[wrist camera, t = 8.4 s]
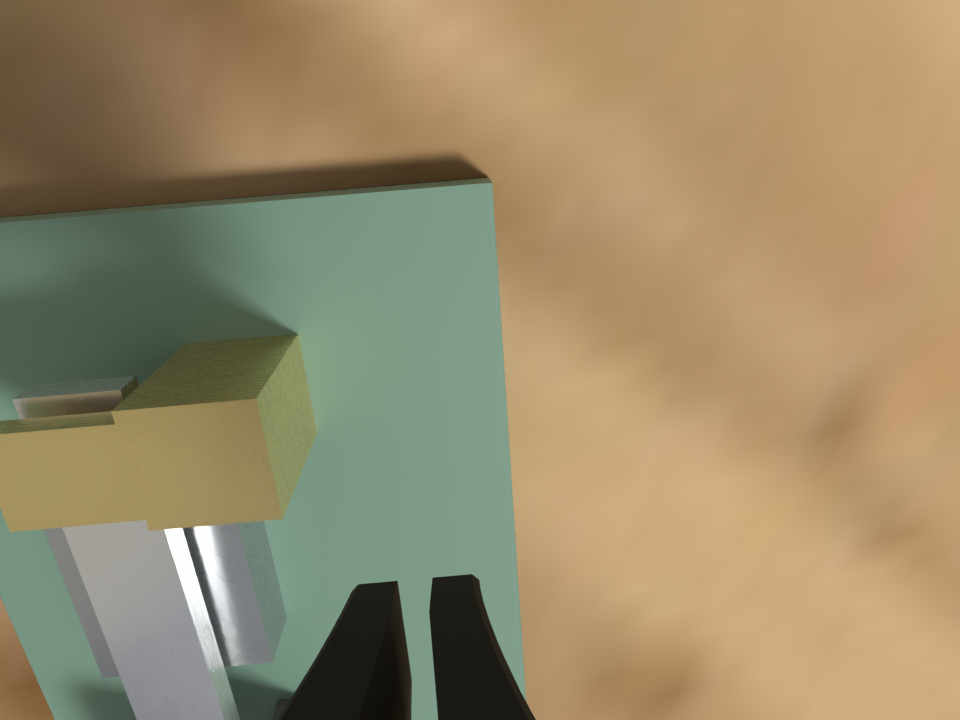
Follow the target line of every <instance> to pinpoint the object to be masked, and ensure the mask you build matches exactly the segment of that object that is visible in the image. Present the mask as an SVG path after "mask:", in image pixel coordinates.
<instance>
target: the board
mask: <svg viewBox="0 0 960 720" xmlns="http://www.w3.org/2000/svg"><path fill="white" fill-rule="evenodd" d="M291 334H298V335H299V341H300V346H301V351H302V356H303V362H304V367H305V372H306V377H307V383H308V388H309V393H310V398H311V404H312V409H313V414H314V420H315V425H316V430H317V434H316V437H315V439H314V442H313V444H312V447H311V449H310V452H309V455H308V457H307V460H306V462H305V465H304V467H303V470H302V472H301V475H300V477H299V480H298V482H297V485H296V487H295V490H294V492H293V495H292V497H291V500H290V502H289V505H288V507H287V510H286V512H285V515H284V517H283V519H278V520H267V521H264V523H265V527H266V532H267V536H268V540H269V544H270V548H271V553H272V557H273V561H274V565H275V569H276V574H277V578H278V582H279V586H280V591H281V595H282V599H283V603H284V607H285V612H286V616H287V619H286V622H285V625H284V628H283V631H282V634H281V638H280V641H279V644H278V647H277V650H276V654H275V657H274V660H273V662H271V663H260V664H249V665H239V666H228V667H224V668H225V671H226V675H227V678H228V681H229V685H230V688H231V691H232V694H233V698H234V701H235V704H236V708H237V711H238V714H239V718H240V720H277V719H278V718H279V716H280V715H281V713H282V712H283V710H284V709H285V707H286V706H287V704H288V702H289V701H290V699H291V698H292V696H293V694H294V693H295V691H296V690H297V688H298V686H299V685H300V683H301V681H302V680H303V678H304V677H305V675H306V673H307V672H308V670H309V668H310V667H311V665H312V664H313V662H314V660H315V659H316V657H317V655H318V653H319V652H320V650H321V648H322V646H323V645H324V643H325V641H326V639H327V638H328V636H329V634H330V632H331V631H332V629H333V627H334V625H335V623H336V621H337V619H338V618H339V616H340V614H341V612H342V610H343V608H344V606H345V604H346V602H347V600H348V598H349V596H350V594H351V592H352V590H353V589H354V588H355V587H356V586H357V585H358V584H367V583H378V582H389V581H398V587H399V594H400V601H401V608H402V615H403V622H404V629H405V635H406V642H407V649H408V656H409V663H410V670H411V677H412V710H411V720H438V711H437V699H436V688H435V676H434V664H433V652H432V640H431V628H430V615H429V609H430V597H431V587H432V578H434V577H445V576H456V575H467V574H473V575H474V576H475V577H476V578H478V579H479V580H480V588H481V593H482V597H483V601H484V605H485V608H486V611H487V614H488V617H489V620H490V623H491V626H492V628H493V631H494V633H495V636H496V639H497V641H498V644H499V646H500V648H501V651H502V653H503V655H504V657H505V660H506V662H507V664H508V666H509V668H510V670H511V672H512V674H513V676H514V679H515V681H516V683H517V685H518V687H519V689H520V691H521V693H522V695H523V697H524V699H525V701H526V695H525V680H524V665H523V649H522V634H521V619H520V603H519V588H518V573H517V557H516V542H515V527H514V511H513V496H512V481H511V465H510V450H509V435H508V419H507V404H506V389H505V373H504V358H503V343H502V327H501V312H500V296H499V281H498V266H497V250H496V235H495V220H494V204H493V189H492V182H491V180H490V178H479V179H466V180H454V181H442V182H430V183H417V184H405V185H393V186H381V187H369V188H356V189H344V190H332V191H320V192H307V193H295V194H283V195H271V196H258V197H246V198H234V199H222V200H210V201H197V202H185V203H173V204H161V205H148V206H136V207H124V208H112V209H100V210H87V211H75V212H63V213H51V214H38V215H26V216H14V217H2V218H0V421H5V420H16V419H20V418H19V415H18V412H17V410H16V407H15V405H14V402H13V400H12V399H14V398H15V397H16V396H18V395H19V394H21V393H22V392H24V391H25V390H26V389H28V388H29V387H31V386H32V385H34V384H46V383H58V382H69V381H81V380H92V379H104V378H116V377H127V376H136V377H137V380H138V383H139V385H141V384H142V383H143V382H144V381H145V380H146V379H147V378H148V377H149V376H150V375H152V374H153V373H154V372H155V371H156V370H157V369H158V368H159V367H160V366H161V365H163V364H164V363H165V362H166V361H167V360H168V359H169V358H170V357H171V356H172V355H174V354H175V353H176V352H177V351H178V350H179V349H180V348H181V347H182V346H183V345H184V344H186V343H197V342H208V341H220V340H232V339H244V338H255V337H267V336H279V335H291ZM0 597H1V599H2V601H3V604H4V606H5V608H6V610H7V613H8V615H9V617H10V619H11V622H12V624H13V626H14V628H15V631H16V633H17V635H18V637H19V640H20V642H21V644H22V647H23V649H24V651H25V653H26V656H27V658H28V660H29V662H30V665H31V667H32V669H33V671H34V674H35V676H36V678H37V680H38V683H39V685H40V687H41V689H42V692H43V694H44V696H45V698H46V701H47V703H48V705H49V707H50V710H51V712H52V714H53V716H54V719H55V720H137V719H136V717H135V714H134V711H133V709H132V706H131V704H130V701H129V699H128V696H127V693H126V691H125V688H124V686H123V683H122V681H121V678H120V677H110V678H102V675H101V673H100V670H99V668H98V665H97V663H96V660H95V657H94V655H93V652H92V650H91V647H90V645H89V642H88V640H87V637H86V634H85V632H84V629H83V627H82V624H81V622H80V619H79V617H78V614H77V611H76V609H75V606H74V604H73V601H72V599H71V596H70V594H69V591H68V589H67V586H66V583H65V581H64V578H63V576H62V573H61V571H60V568H59V566H58V563H57V560H56V558H55V555H54V553H53V550H52V548H51V545H50V543H49V540H48V537H47V535H46V532H45V530H44V529H39V530H28V531H17V532H10V531H9V528H8V526H7V523H6V521H5V519H4V516H3V514H2V511H1V509H0Z"/></svg>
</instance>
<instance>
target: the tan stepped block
mask: <svg viewBox="0 0 960 720" xmlns="http://www.w3.org/2000/svg"><path fill="white" fill-rule="evenodd" d="M316 434H317V430H316V425H315V420H314V414H313V409H312V404H311V398H310V393H309V388H308V383H307V377H306V372H305V367H304V362H303V356H302V351H301V346H300V341H299V335H298V334H291V335H279V336H267V337H255V338H244V339H232V340H220V341H208V342H197V343H186V344H184V345H183V346H182V347H181V348H180V349H179V350H178V351H177V352H176V353H175V354H174V355H172V356H171V357H170V358H169V359H168V360H167V361H166V362H165V363H164V364H163V365H161V366H160V367H159V368H158V369H157V370H156V371H155V372H154V373H153V374H152V375H150V376H149V377H148V378H147V379H146V380H145V381H144V382H143V383H142V384H141V385H139V386H138V387H137V388H136V389H135V390H134V391H133V392H132V393H131V394H130V395H129V396H127V397H126V398H125V399H124V400H123V401H122V402H121V403H120V404H119V405H118V406H116V407H115V408H114V409H113V410H112V411H108V412H97V413H85V414H74V415H62V416H51V417H39V418H28V419H16V420H5V421H0V509H1V511H2V514H3V516H4V519H5V521H6V523H7V526H8V528H9V531H10V532H17V531H28V530H39V529H50V528H61V527H72V526H84V525H95V524H106V523H117V522H128V521H139V520H146V522H147V526H148V529H149V531H155V530H167V529H178V528H189V527H200V526H211V525H222V524H233V523H244V522H255V521H267V520H278V519H283V517H284V515H285V512H286V510H287V507H288V505H289V502H290V500H291V497H292V495H293V492H294V490H295V487H296V485H297V482H298V480H299V477H300V475H301V472H302V470H303V467H304V465H305V462H306V460H307V457H308V455H309V452H310V449H311V447H312V444H313V442H314V439H315V437H316Z"/></svg>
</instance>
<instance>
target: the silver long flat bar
mask: <svg viewBox="0 0 960 720" xmlns="http://www.w3.org/2000/svg"><path fill="white" fill-rule="evenodd" d="M138 386H139V383H138V380H137V377H136V376H127V377H116V378H104V379H92V380H81V381H69V382H58V383H46V384H34V385H32V386H31V387H29V388H28V389H26V390H25V391H24V392H22V393H21V394H19V395H18V396H16V397H15V398H14V399H12V400H13V402H14V405H15V407H16V410H17V412H18V415H19V418H20V419H28V418H39V417H51V416H62V415H74V414H85V413H97V412H108V411H112V410H113V409H114V408H115V407H116V406H118V405H119V404H120V403H121V402H122V401H123V400H124V399H125V398H126V397H127V396H129V395H130V394H131V393H132V392H133V391H134V390H135V389H136V388H137V387H138ZM62 528H63V531H64V534H65V536H66V539H67V541H68V544H69V546H70V549H71V552H72V554H73V557H74V559H75V562H76V565H77V567H78V570H79V572H80V575H81V577H82V580H83V583H84V585H85V588H86V590H87V593H88V595H89V598H90V601H91V603H92V606H93V608H94V611H95V614H96V616H97V619H98V621H99V624H100V626H101V629H102V632H103V634H104V637H105V639H106V642H107V644H108V647H109V650H110V652H111V655H112V657H113V660H114V662H115V665H116V668H117V670H118V673H119V675H120V678H121V681H122V683H123V686H124V688H125V691H126V693H127V696H128V699H129V701H130V704H131V706H132V709H133V711H134V714H135V717H136V719H137V720H240V718H239V714H238V711H237V708H236V704H235V701H234V698H233V694H232V691H231V688H230V685H229V681H228V678H227V675H226V671H225V668H224V665H223V661H222V658H221V655H220V651H219V648H218V645H217V642H216V638H215V635H214V632H213V628H212V625H211V622H210V618H209V615H208V612H207V608H206V605H205V602H204V599H203V595H202V592H201V589H200V585H199V582H198V579H197V575H196V572H195V569H194V565H193V562H192V559H191V556H190V552H189V549H188V546H187V542H186V539H185V536H184V532H183V529H182V528H178V529H167V530H155V531H149V529H148V526H147V522H146V520H139V521H128V522H117V523H106V524H95V525H84V526H72V527H62Z"/></svg>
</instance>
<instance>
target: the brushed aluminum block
mask: <svg viewBox="0 0 960 720" xmlns="http://www.w3.org/2000/svg"><path fill="white" fill-rule="evenodd" d="M182 529H183V532H184V536H185V539H186V542H187V546H188V549H189V552H190V556H191V559H192V562H193V565H194V569H195V572H196V575H197V579H198V582H199V585H200V589H201V592H202V595H203V599H204V602H205V605H206V608H207V612H208V615H209V618H210V622H211V625H212V628H213V632H214V635H215V638H216V642H217V645H218V648H219V651H220V655H221V658H222V661H223V665H224V667H228V666H239V665H249V664H260V663H271V662H273V660H274V657H275V654H276V650H277V647H278V644H279V641H280V638H281V634H282V631H283V628H284V625H285V622H286V619H287V616H286V612H285V607H284V603H283V599H282V595H281V591H280V586H279V582H278V578H277V574H276V569H275V565H274V561H273V557H272V553H271V548H270V544H269V540H268V536H267V532H266V527H265V523H264V521H255V522H244V523H233V524H222V525H211V526H200V527H189V528H182ZM44 530H45V532H46V535H47V537H48V540H49V543H50V545H51V548H52V550H53V553H54V555H55V558H56V560H57V563H58V566H59V568H60V571H61V573H62V576H63V578H64V581H65V583H66V586H67V589H68V591H69V594H70V596H71V599H72V601H73V604H74V606H75V609H76V611H77V614H78V617H79V619H80V622H81V624H82V627H83V629H84V632H85V634H86V637H87V640H88V642H89V645H90V647H91V650H92V652H93V655H94V657H95V660H96V663H97V665H98V668H99V670H100V673H101V675H102V678H110V677H120V675H119V673H118V670H117V668H116V665H115V662H114V660H113V657H112V655H111V652H110V650H109V647H108V644H107V642H106V639H105V637H104V634H103V632H102V629H101V626H100V624H99V621H98V619H97V616H96V614H95V611H94V608H93V606H92V603H91V601H90V598H89V595H88V593H87V590H86V588H85V585H84V583H83V580H82V577H81V575H80V572H79V570H78V567H77V565H76V562H75V559H74V557H73V554H72V552H71V549H70V546H69V544H68V541H67V539H66V536H65V534H64V531H63V528H62V527H61V528H50V529H44Z"/></svg>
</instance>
